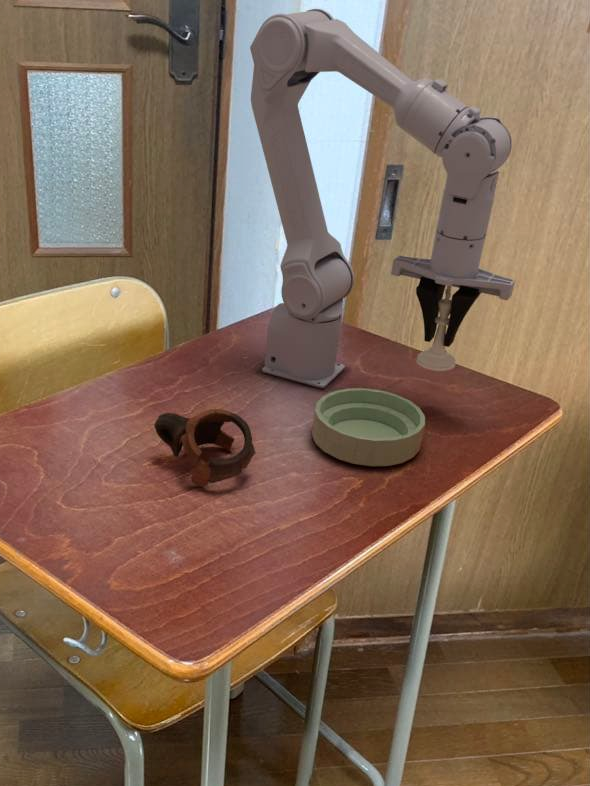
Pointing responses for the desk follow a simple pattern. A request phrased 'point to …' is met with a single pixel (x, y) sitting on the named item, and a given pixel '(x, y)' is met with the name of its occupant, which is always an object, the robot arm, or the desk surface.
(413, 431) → the bowl
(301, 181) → the robot arm
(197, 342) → the desk surface
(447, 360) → the chess piece
